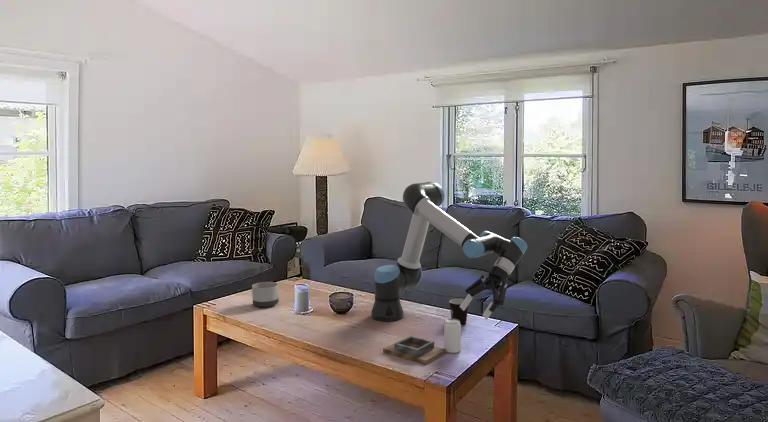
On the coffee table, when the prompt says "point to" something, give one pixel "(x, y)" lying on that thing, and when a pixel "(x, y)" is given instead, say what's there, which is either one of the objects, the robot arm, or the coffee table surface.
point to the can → (452, 336)
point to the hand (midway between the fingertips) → (472, 313)
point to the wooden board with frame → (415, 350)
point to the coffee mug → (458, 311)
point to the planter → (265, 294)
